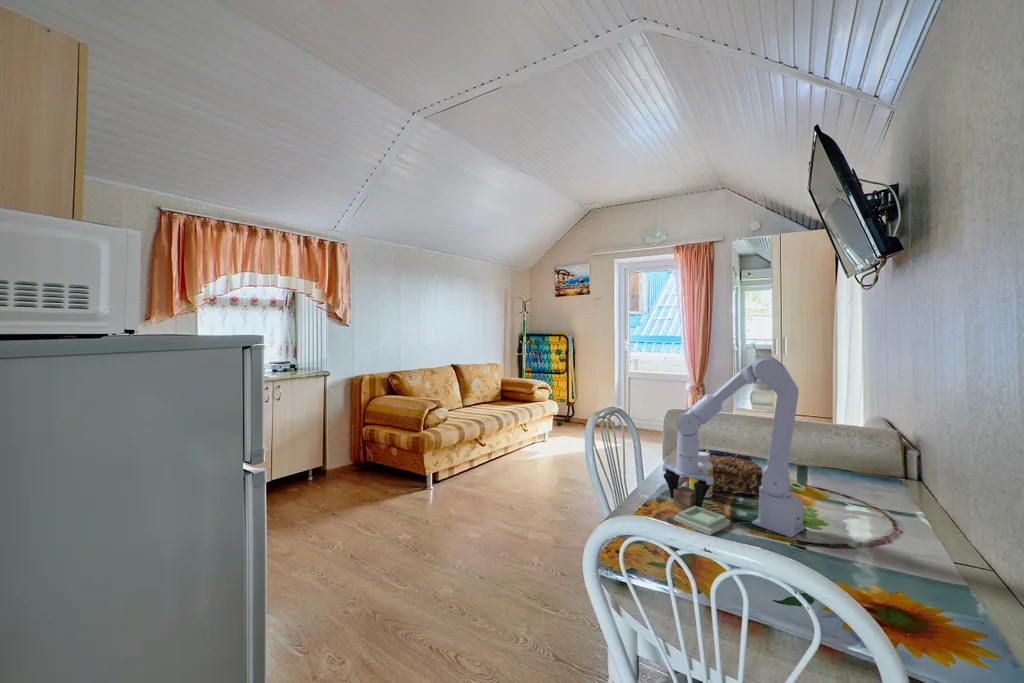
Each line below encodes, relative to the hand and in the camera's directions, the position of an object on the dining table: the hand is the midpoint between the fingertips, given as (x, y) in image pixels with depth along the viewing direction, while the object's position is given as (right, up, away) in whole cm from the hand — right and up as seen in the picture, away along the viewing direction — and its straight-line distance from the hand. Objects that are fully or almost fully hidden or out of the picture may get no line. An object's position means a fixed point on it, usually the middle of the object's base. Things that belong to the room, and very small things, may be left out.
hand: (686, 502), depth 124 cm
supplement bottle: (+9, -2, +10) cm, 13 cm away
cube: (0, -2, 0) cm, 2 cm away
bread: (+20, -2, +17) cm, 26 cm away
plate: (0, -2, -10) cm, 10 cm away
